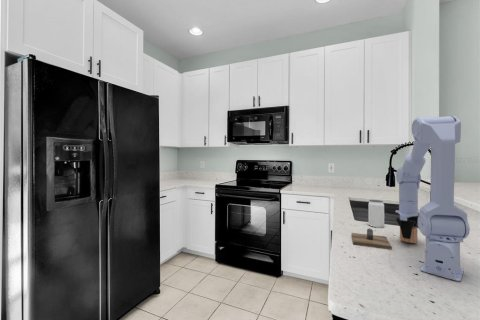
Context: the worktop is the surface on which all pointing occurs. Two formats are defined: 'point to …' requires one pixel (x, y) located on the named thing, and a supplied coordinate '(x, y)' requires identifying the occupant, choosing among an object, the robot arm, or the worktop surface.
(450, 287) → the worktop surface
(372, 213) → the can
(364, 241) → the holder
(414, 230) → the tube
